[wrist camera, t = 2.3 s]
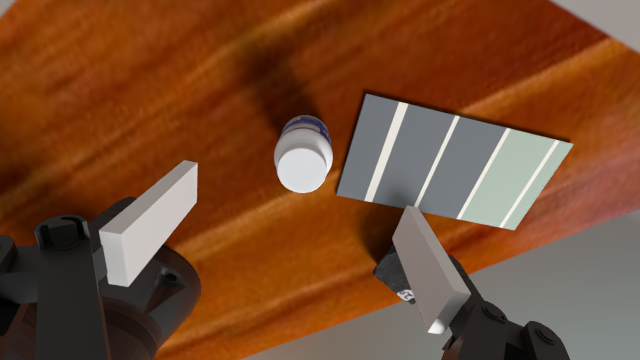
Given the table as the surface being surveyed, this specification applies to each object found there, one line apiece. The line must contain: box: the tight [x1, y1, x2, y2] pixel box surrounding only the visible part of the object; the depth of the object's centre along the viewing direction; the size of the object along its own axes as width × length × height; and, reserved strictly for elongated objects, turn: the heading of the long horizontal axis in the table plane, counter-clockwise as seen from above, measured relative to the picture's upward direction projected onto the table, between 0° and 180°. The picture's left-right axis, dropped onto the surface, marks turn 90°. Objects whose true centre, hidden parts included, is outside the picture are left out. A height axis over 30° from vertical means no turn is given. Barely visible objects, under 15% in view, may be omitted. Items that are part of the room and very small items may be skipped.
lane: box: [336, 93, 574, 230], centre depth 30 cm, size 24×12×1 cm, turn 77°
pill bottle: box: [274, 115, 333, 193], centre depth 25 cm, size 5×5×9 cm
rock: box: [373, 244, 416, 304], centre depth 34 cm, size 10×9×6 cm
